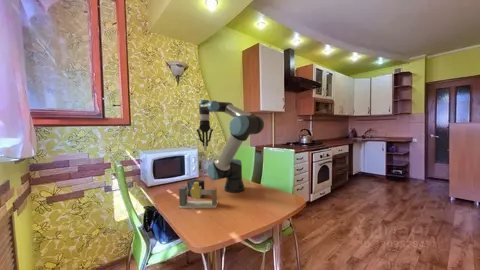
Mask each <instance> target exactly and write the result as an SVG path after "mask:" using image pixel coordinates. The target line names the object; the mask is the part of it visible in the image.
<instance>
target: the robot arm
mask: <svg viewBox="0 0 480 270" xmlns="http://www.w3.org/2000/svg"><path fill="white" fill-rule="evenodd" d="M198 109H199V113H198V114H199V127H198V128H197V129H196V132H197V135H198V138H199V141H200V142H202V147H203V149H204V152H207V150H208V146H209V143H210V142H211V138H212V134H213V132H214V128H211V123H210V112H212V113H213V112H216V113H225V114H227V115H229V116H231V117H232V118H231V120H230V121H229V127H228V128H229V133H230V136H229V137H228V139H227V142H226V143H225V145H224V147H223V148H222V150H221V152H220V154H219V157H217V158H215V160H214V161H213V163H211V162H210V163H209V164H208V165H207V174H208V177H209V178H210V180H213V181H218V180H222V179H226V181H225V184H224V191H225V192H226V193H235V194H236V193H240V192H243V191H245V184H244V181H243V174H242V173H243V171H242V169H243V165H242V160H240V159H238V158H234V157H235V155H236V154H237V152H238V151H239V148H240V147H241V146H242V144H243V142H246V141H247V140H248V139H249V136H250V135H258V134H260V133H261V132H262V131H263V130H264V128H265V122H264V119H263V118H262V117H261V116H260V115H257V114H255V113H249V112H247V111H245V110H243V109H241V108H239V107H237V106H234V104H233V103H232V102H227V101H226V102H225V101H216V100H208V99H200V100H199V104H198ZM201 133H202V134H201Z"/></svg>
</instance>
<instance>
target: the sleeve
mask: <svg viewBox="0 0 480 270" xmlns="http://www.w3.org/2000/svg"><path fill="white" fill-rule="evenodd" d="M200 190H201V187H199V182H194V187H193V188H192V189H191V199H201V198H202V197H201V195H200ZM200 197H201V198H200Z"/></svg>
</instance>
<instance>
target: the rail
mask: <svg viewBox="0 0 480 270" xmlns="http://www.w3.org/2000/svg"><path fill="white" fill-rule="evenodd" d="M217 190H218V189H217V187H212V189H209V188H208V189H204V190H200V195H208V196H210V195H211V200H193V201H191V200H190V201H189V200H188V197H190V196H191V189H189V190H188V187H187V185H183V186H182V185H181V187H180V188H179V189H178V195H179V205H178V209H216V208H217V206H218V203H219V200H218V196H217V194H218V193H217Z"/></svg>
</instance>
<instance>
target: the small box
mask: <svg viewBox="0 0 480 270" xmlns="http://www.w3.org/2000/svg"><path fill="white" fill-rule="evenodd" d="M186 182H187V183H186V186H187V190H189V189H192V188H193V187H194V182H199V187H201V190H205V180H199V179H191V180H187V181H186ZM189 197H191V196H189ZM203 197H205V195H201V197H200V198H199V199H201V198H203Z"/></svg>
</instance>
